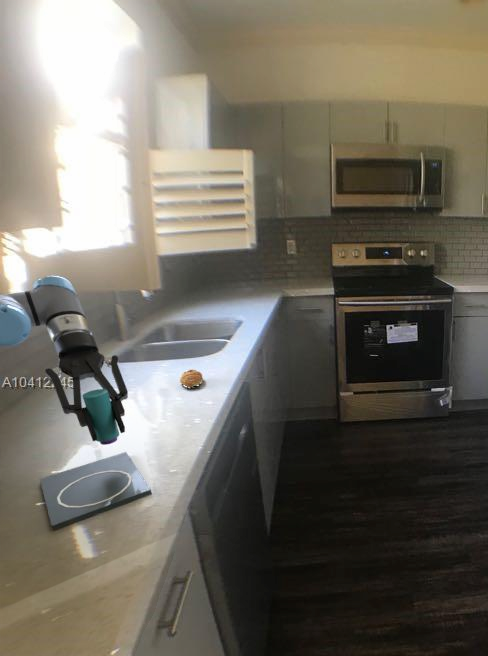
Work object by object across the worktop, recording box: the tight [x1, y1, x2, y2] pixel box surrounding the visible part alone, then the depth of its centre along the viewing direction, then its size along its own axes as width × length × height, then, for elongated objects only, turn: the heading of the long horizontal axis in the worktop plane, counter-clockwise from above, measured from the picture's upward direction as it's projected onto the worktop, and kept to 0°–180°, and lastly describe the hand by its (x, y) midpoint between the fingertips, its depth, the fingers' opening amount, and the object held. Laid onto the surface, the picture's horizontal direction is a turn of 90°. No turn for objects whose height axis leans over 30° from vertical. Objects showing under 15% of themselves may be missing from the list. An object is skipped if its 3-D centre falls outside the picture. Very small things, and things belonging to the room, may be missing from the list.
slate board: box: [39, 451, 153, 531], centre depth 91 cm, size 20×16×1 cm
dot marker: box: [82, 388, 120, 446], centre depth 95 cm, size 4×4×11 cm
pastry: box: [179, 369, 204, 388], centre depth 143 cm, size 9×7×4 cm
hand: (108, 433), depth 93 cm, fingers closed on dot marker, 4 cm apart
